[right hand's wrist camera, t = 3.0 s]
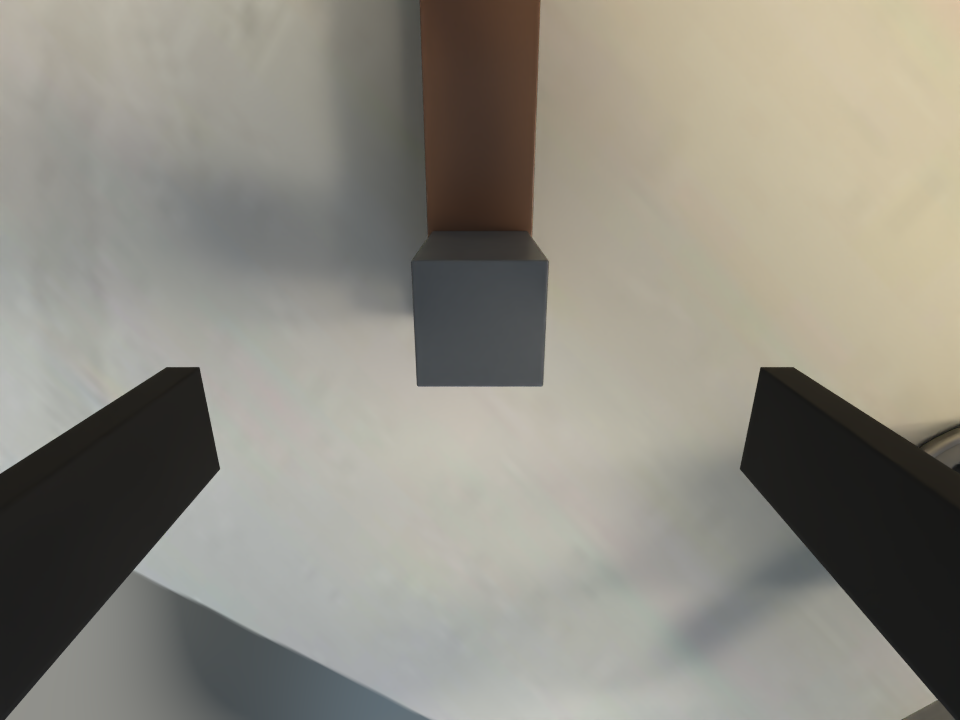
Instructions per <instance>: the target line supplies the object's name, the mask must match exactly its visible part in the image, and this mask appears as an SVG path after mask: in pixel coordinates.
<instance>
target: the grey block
mask: <svg viewBox="0 0 960 720" xmlns="http://www.w3.org/2000/svg"><path fill="white" fill-rule="evenodd" d="M411 268H412V290H413V312H414V333H415V355H416V376H417V386H543V376H544V355H545V333H546V312H547V290H548V268H549V261H548V259H547V258H546V257H545V255H544V254H543V253H542V251H541V250H540V248H539V247H538V246H537V244H536V243H535V241H534V240H533V239H532V237H531V236H530V234H529V233H528V232H527V231H433V232H432V233H431V234H430V236H429V237H428V239H427V240H426V241H425V243H424V244H423V246H422V247H421V248H420V250H419V251H418V253H417V254H416V255H415V257H414V258H413V259H412V261H411Z"/></svg>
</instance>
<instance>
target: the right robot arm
mask: <svg viewBox="0 0 960 720" xmlns="http://www.w3.org/2000/svg"><path fill="white" fill-rule="evenodd" d="M219 470H220V466H219V461H218V457H217V452H216V447H215V442H214V437H213V432H212V427H211V422H210V417H209V412H208V407H207V402H206V397H205V393H204V388H203V383H202V378H201V373H200V368H199V367H166V368H165V369H163V370H162V371H160V372H159V373H157V374H155V375H154V376H152V377H151V378H149V379H148V380H146V381H144V382H143V383H141V384H140V385H138V386H137V387H135V388H134V389H132V390H130V391H129V392H127V393H126V394H124V395H123V396H121V397H120V398H118V399H116V400H115V401H113V402H112V403H110V404H109V405H107V406H105V407H104V408H102V409H101V410H99V411H98V412H96V413H95V414H93V415H91V416H90V417H88V418H87V419H85V420H84V421H82V422H81V423H79V424H77V425H76V426H74V427H73V428H71V429H70V430H68V431H66V432H65V433H63V434H62V435H60V436H59V437H57V438H56V439H54V440H52V441H51V442H49V443H48V444H46V445H45V446H43V447H42V448H40V449H38V450H37V451H35V452H34V453H32V454H31V455H29V456H27V457H26V458H24V459H23V460H21V461H20V462H18V463H17V464H15V465H13V466H12V467H10V468H9V469H7V470H6V471H4V472H3V473H1V474H0V720H5V719H6V718H7V717H8V715H9V714H10V713H11V712H12V711H13V710H14V708H15V707H16V706H17V705H18V704H19V703H20V701H21V700H22V699H23V698H24V697H25V696H26V694H27V693H28V692H29V691H30V690H31V689H32V687H33V686H34V685H35V684H36V683H37V682H38V680H39V679H40V678H41V677H42V676H43V675H44V673H45V672H46V671H47V670H48V669H49V668H50V666H51V665H52V664H53V663H54V662H55V661H56V659H57V658H58V657H59V656H60V655H61V654H62V652H63V651H64V650H65V649H66V648H67V647H68V645H69V644H70V643H71V642H72V641H73V640H74V639H75V637H76V636H77V635H78V634H79V633H80V632H81V630H82V629H83V628H84V627H85V626H86V625H87V623H88V622H89V621H90V620H91V619H92V618H93V616H94V615H95V614H96V613H97V612H98V611H99V609H100V608H101V607H102V606H103V605H104V604H105V602H106V601H107V600H108V599H109V598H110V597H111V595H112V594H113V593H114V592H115V591H116V590H117V588H118V587H119V586H120V585H121V584H122V583H123V581H124V580H125V579H126V578H127V577H128V576H129V574H130V573H131V572H132V571H133V570H134V569H135V568H136V566H137V565H138V564H139V563H140V562H141V561H142V559H143V558H144V557H145V556H146V555H147V554H148V552H149V551H150V550H151V549H152V548H153V547H154V545H155V544H156V543H157V542H158V541H159V540H160V538H161V537H162V536H163V535H164V534H165V533H166V531H167V530H168V529H169V528H170V527H171V526H172V524H173V523H174V522H175V521H176V520H177V519H178V517H179V516H180V515H181V514H182V513H183V512H184V510H185V509H186V508H187V507H188V506H189V505H190V503H191V502H192V501H193V500H194V499H195V498H196V496H197V495H198V494H199V493H200V492H201V491H202V489H203V488H204V487H205V486H206V485H207V484H208V483H209V481H210V480H211V479H212V478H213V477H214V476H215V474H216V473H217V472H218V471H219ZM740 470H741V471H742V472H743V473H744V474H745V476H746V477H747V478H748V479H749V480H750V481H751V483H752V484H753V485H754V486H755V487H756V488H757V489H758V491H759V492H760V493H761V494H762V495H763V496H764V498H765V499H766V500H767V501H768V502H769V503H770V505H771V506H772V507H773V508H774V509H775V510H776V512H777V513H778V514H779V515H780V516H781V517H782V519H783V520H784V521H785V522H786V523H787V524H788V526H789V527H790V528H791V529H792V530H793V531H794V533H795V534H796V535H797V536H798V537H799V538H800V540H801V541H802V542H803V543H804V544H805V545H806V547H807V548H808V549H809V550H810V551H811V552H812V554H813V555H814V556H815V557H816V558H817V559H818V561H819V562H820V563H821V564H822V565H823V566H824V568H825V569H826V570H827V571H828V572H829V573H830V574H831V576H832V577H833V578H834V579H835V580H836V581H837V583H838V584H839V585H840V586H841V587H842V588H843V590H844V591H845V592H846V593H847V594H848V595H849V597H850V598H851V599H852V600H853V601H854V602H855V604H856V605H857V606H858V607H859V608H860V609H861V611H862V612H863V613H864V614H865V615H866V616H867V618H868V619H869V620H870V621H871V622H872V623H873V625H874V626H875V627H876V628H877V629H878V630H879V632H880V633H881V634H882V635H883V636H884V637H885V639H886V640H887V641H888V642H889V643H890V644H891V646H892V647H893V648H894V649H895V650H896V651H897V653H898V654H899V655H900V656H901V657H902V658H903V659H904V661H905V662H906V663H907V664H908V665H909V666H910V668H911V669H912V670H913V671H914V672H915V673H916V675H917V676H918V677H919V678H920V679H921V680H922V682H923V683H924V684H925V685H926V686H927V687H928V689H929V690H930V691H931V692H932V693H933V694H934V696H935V697H936V698H937V699H938V700H937V701H935V702H933V703H932V704H930V705H928V706H926V707H924V708H922V709H920V710H919V711H917V712H915V713H913V714H911V715H909V716H908V717H906V718H904V719H902V720H960V427H959V428H956V429H953V430H951V431H949V432H946V433H944V434H942V435H940V436H938V437H936V438H935V439H933V440H931V441H929V442H928V443H926V444H925V445H923V446H922V447H920V448H918V447H917V446H915V445H914V444H912V443H911V442H909V441H908V440H906V439H904V438H903V437H901V436H900V435H898V434H897V433H895V432H894V431H892V430H890V429H889V428H887V427H886V426H884V425H883V424H881V423H879V422H878V421H876V420H875V419H873V418H872V417H870V416H869V415H867V414H865V413H864V412H862V411H861V410H859V409H858V408H856V407H855V406H853V405H851V404H850V403H848V402H847V401H845V400H844V399H842V398H840V397H839V396H837V395H836V394H834V393H833V392H831V391H830V390H828V389H826V388H825V387H823V386H822V385H820V384H819V383H817V382H816V381H814V380H812V379H811V378H809V377H808V376H806V375H805V374H803V373H801V372H800V371H798V370H797V369H795V368H794V367H761V368H760V373H759V378H758V383H757V388H756V393H755V397H754V402H753V407H752V412H751V417H750V422H749V427H748V432H747V437H746V442H745V447H744V452H743V457H742V461H741V466H740Z"/></svg>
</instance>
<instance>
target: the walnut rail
mask: <svg viewBox="0 0 960 720" xmlns="http://www.w3.org/2000/svg"><path fill="white" fill-rule="evenodd" d="M420 24H421V53H422V82H423V111H424V140H425V169H426V198H427V227H428V237H429V236H430V234H431V233H432V232H433V231H527V232H528V233H529V234H530V236H531V237H532V227H533V198H534V169H535V140H536V111H537V82H538V53H539V24H540V0H420Z"/></svg>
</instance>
